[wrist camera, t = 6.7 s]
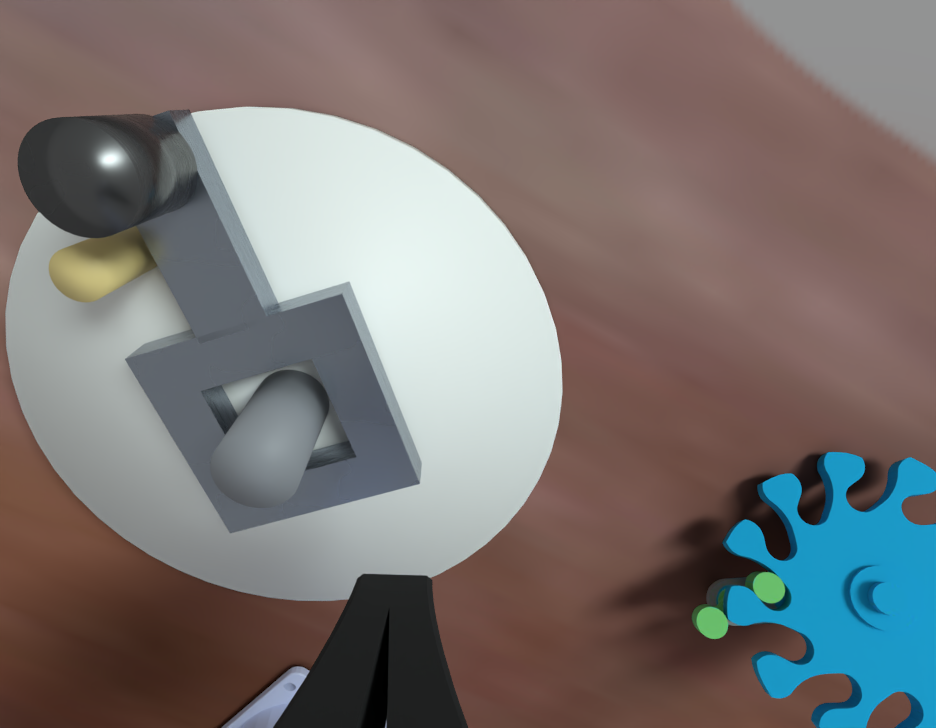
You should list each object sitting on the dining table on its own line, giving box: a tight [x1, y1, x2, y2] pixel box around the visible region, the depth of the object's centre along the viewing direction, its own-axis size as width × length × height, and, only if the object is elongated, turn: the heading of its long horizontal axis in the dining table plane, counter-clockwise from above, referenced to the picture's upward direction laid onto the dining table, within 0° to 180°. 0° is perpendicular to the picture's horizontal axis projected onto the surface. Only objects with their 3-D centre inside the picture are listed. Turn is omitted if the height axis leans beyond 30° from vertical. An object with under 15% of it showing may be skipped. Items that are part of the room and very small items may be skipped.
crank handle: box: [18, 110, 422, 533], centre depth 16 cm, size 13×7×4 cm, turn 17°
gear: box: [692, 452, 936, 728], centre depth 22 cm, size 11×6×10 cm
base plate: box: [6, 107, 562, 601], centre depth 18 cm, size 18×18×5 cm
